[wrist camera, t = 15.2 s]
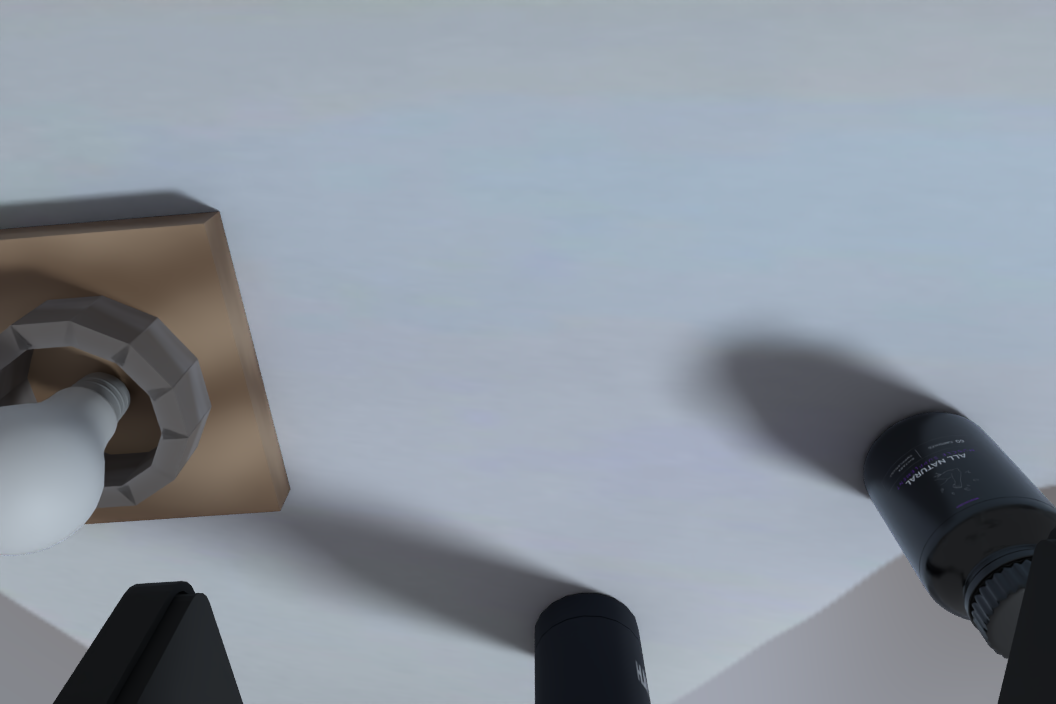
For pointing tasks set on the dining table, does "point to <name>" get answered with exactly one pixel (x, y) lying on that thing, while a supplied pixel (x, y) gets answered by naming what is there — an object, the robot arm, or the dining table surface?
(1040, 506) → the supplement bottle
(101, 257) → the socket base
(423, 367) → the dining table surface
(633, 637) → the black water bottle
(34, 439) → the lightbulb
